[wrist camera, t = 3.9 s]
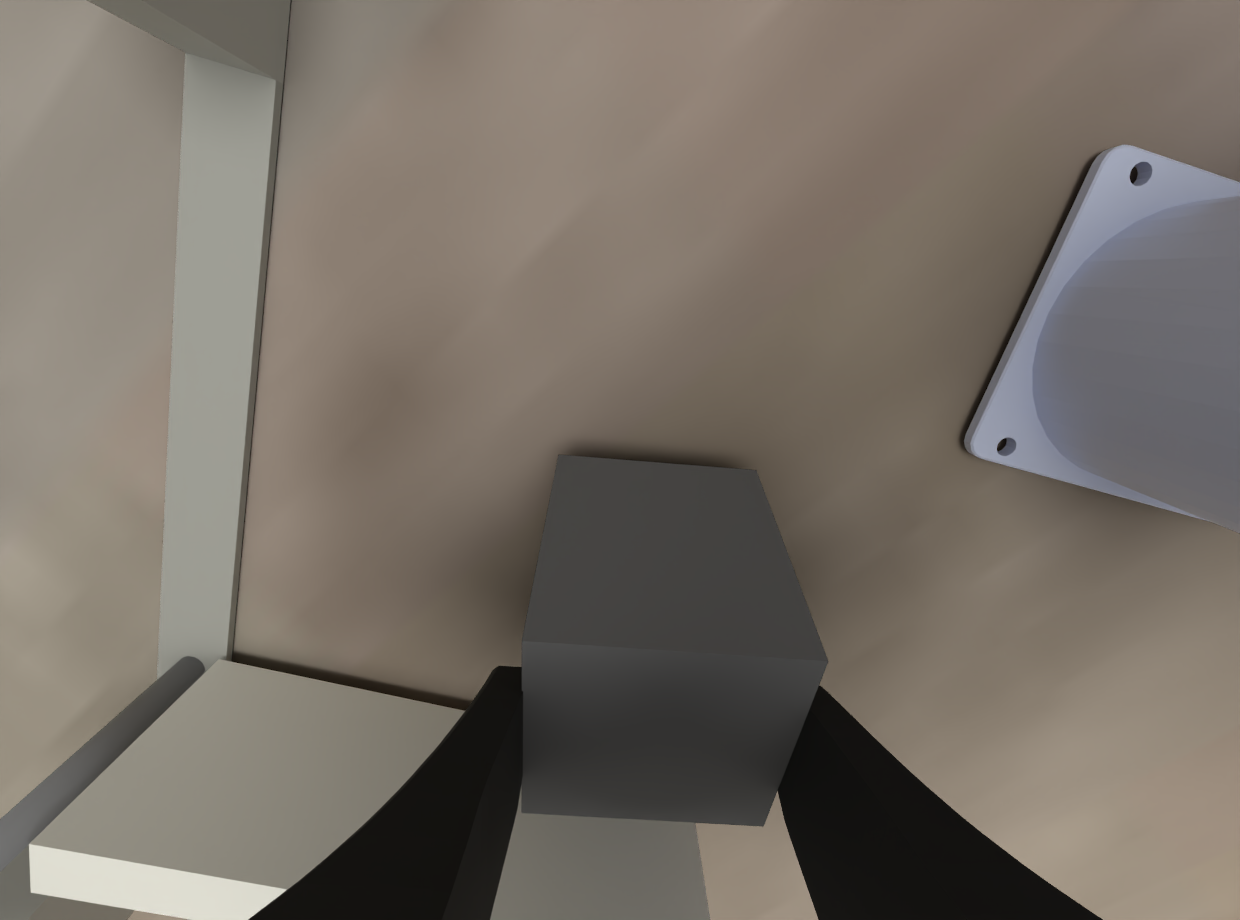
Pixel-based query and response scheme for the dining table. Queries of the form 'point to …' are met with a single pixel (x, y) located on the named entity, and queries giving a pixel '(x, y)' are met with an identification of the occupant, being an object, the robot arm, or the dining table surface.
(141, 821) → the door
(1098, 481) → the robot arm
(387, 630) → the dining table surface
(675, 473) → the dark grey block
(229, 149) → the grey u-shaped bar
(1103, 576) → the dining table surface
